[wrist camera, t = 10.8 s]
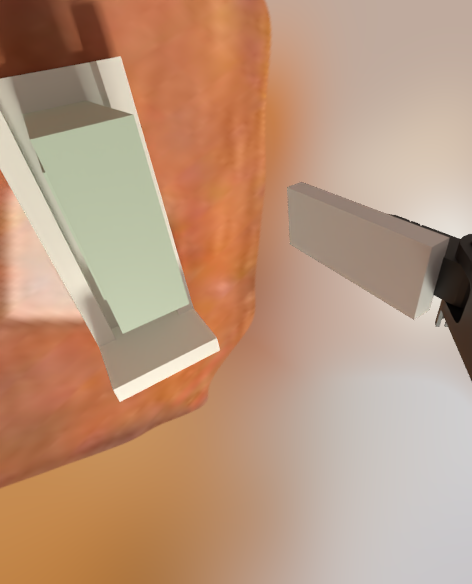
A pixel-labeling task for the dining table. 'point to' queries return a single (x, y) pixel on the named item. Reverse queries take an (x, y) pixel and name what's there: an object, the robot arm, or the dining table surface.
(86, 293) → the track
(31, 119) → the door panel
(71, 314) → the dining table surface
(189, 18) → the dining table surface
